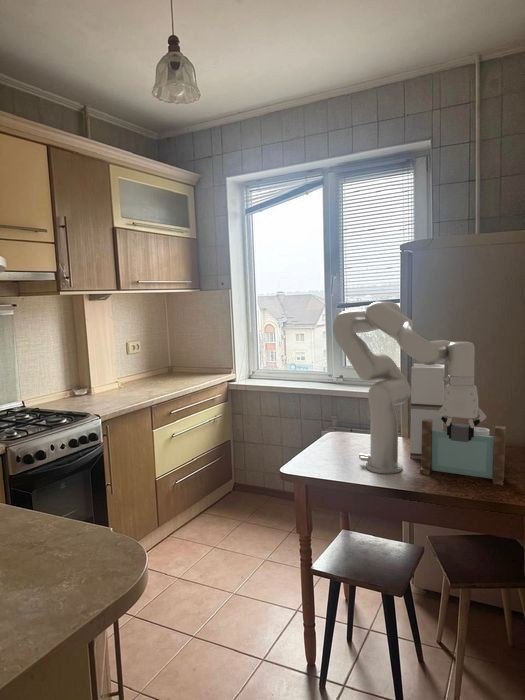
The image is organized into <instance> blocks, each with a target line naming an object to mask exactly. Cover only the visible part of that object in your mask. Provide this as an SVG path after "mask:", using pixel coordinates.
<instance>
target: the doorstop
mask: <svg viewBox="0 0 525 700" xmlns="http://www.w3.org/2000/svg"><path fill="white" fill-rule="evenodd" d="M469 426H470V424H466V423H465V424H464V423H454V422H453V423H452V426H451V441H461V442H469V440H468V431H469Z"/></svg>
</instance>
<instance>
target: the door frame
mask: <svg viewBox="0 0 525 700" xmlns="http://www.w3.org/2000/svg"><path fill="white" fill-rule="evenodd" d="M432 421H433V420H427V419H423V420H422V453H421V459H420V460H421V461H420V462H421V463H420V465H421V466H420V468H419V474H420V475H421V474H422V475H426V476H427V475H430V474H431V472H432V471H433V470H432ZM505 449H506V426H501V425H500V426H499V425H495V427H494V454H493V479H492V485H496V484H501V485H500V486H504V482H503V481H504V480H505V452H506V451H505Z"/></svg>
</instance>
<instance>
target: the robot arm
mask: <svg viewBox="0 0 525 700" xmlns="http://www.w3.org/2000/svg"><path fill="white" fill-rule="evenodd" d="M413 328H414V322H413V320H412V319H411V318H409V317H408V316H406V315H404V314H403V313H402V309H401V307H400V306H399V305H398V304H397V303H395V302H393V301H375V302H372V303H371V304H369V305H368V306H367V307H366V309H352V310H344V311H342V312H339V313H338V314H337V315H336V316H335V319H334V320H333V323H332V332H333V333H332V334H333V337H334V339H335V342H336V343H337V345H338V346H339V348H340V349H341V350H342V351H343V353H344V355H345V357H346V358H347V359H348V362H349V363H350V365H351V366H352V367H353V370H354V371H355V373H356V374H357V375H358V377H359V379H361V380H362V381H363V382H365V383H370V382H371V383H372V382H375V383H373V384H372V385H371V386H370V387H369V390H368V392H367V399H368V404H369V405H368V406H369V412H370V444H369V445H370V447H369V448H370V450H369V453H368V454H365V453H359V456H358V459H359V460H360V461H363V462H365V461H366V463H365V468H366V469H367V470H368V471H370V472H373V473H377V474H385V475H386V474H387V475H388V474H389V475H390V474H396V473H397V474H398V473H399V472H401V471H402V470H403V466H402V464H401V463H400V462H398V461H399V459H398V458H399V457H398V456H399V455H398V454H399V453H398V452H399V418H398V413H397V411H396V410H397V409H396V406H399V405H402V404H405V403H407V402H408V400H410V399H411V384H409V382H408V380H407V378H406V376H404V374H403V373H402V371H401V369H400V368H399V367H398V365H397V364H396V362H395V360H394V359H392V357H390V356H389V355H387V354H381V353H379V354H374V353H373V352H372V351H371V349H370V348H369V346H368V344H367V343H366V342H365V340H363V339H362V338H361V337H360V336H359V335H358V334H362V333H369V332H374V331H377V330H379V331H382V332H383V333H384V334H386V335H388V336H389V337H391V338H392V339H393V340H395V341H396V343H397V345H398V346H399V348H400V349H401V350H402V351H403V352H404V353H405V354H406V355H408V356H409V357H411V358H412V359H414V360H416V361H417V362H419V364H425V365H435V364H440V365H442V364H446V363H447V364H448V367H447V369H448V370H447V371H448V372H447V374H448V375H447V376H444V377H443V381H444V382H446V383H447V384H445V385H444V398H443V406H442V407H441V408H440V409H439V410H438V411H437V413H436V415H437V416H438V417H439V418H440V419H441V420H442V421H443V424H445V425H446V432H447V435H449V439H451V426H452V424H453V423H452V421H453V419H460V420H461V419H462V420H468V425H470V426H469V431H468V440H469V441H471V439H472V438H474V427H477V426H478V425H479V424H480V423H481V422H483V421H484V420H486V419H487V415H486V414H485V413H484V412H483V410H482V409H481V408H480V407H479V395H478V388H477V386H476V385H475V351H476V350H475V345H474V343H473V342H470V341H451V340H445V339H438V340H427V339H426V338H424V337H423V336H421V335H419V334H418V333H416V331H415V330H413ZM376 381H377V382H376ZM442 412H443V414H442ZM478 416H479V417H478Z"/></svg>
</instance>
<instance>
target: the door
mask: <svg viewBox="0 0 525 700" xmlns="http://www.w3.org/2000/svg"><path fill="white" fill-rule="evenodd" d="M494 441H495V435H494V436H492V435H491V436H490V435H489V436H484V435H475V434H474V438H472V439H471V441H469V442H461V441H451V439H449V435H447V431H445V430H443V431H436V430H433V431H432V470H431V471H436V472H443V473H449V474H455V475H456V474H458V475H462V476H471V477H478V478H479V477H480V478H484V479H492V480H493V473H494Z"/></svg>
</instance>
